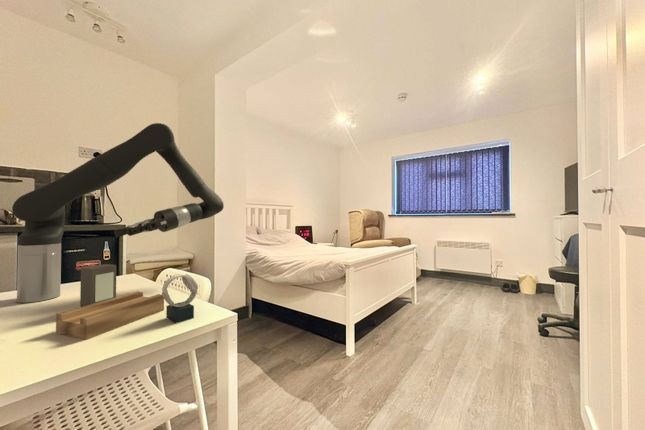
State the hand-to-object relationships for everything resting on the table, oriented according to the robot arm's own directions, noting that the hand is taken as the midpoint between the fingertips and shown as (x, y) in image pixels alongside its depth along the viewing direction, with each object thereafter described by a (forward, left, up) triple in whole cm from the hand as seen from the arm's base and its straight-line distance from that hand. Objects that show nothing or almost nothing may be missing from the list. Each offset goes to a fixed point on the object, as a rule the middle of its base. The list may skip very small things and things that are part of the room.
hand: (121, 233), depth 77 cm
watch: (+28, -4, -21) cm, 35 cm away
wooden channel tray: (+14, -10, -21) cm, 27 cm away
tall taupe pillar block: (+1, -6, -21) cm, 22 cm away
